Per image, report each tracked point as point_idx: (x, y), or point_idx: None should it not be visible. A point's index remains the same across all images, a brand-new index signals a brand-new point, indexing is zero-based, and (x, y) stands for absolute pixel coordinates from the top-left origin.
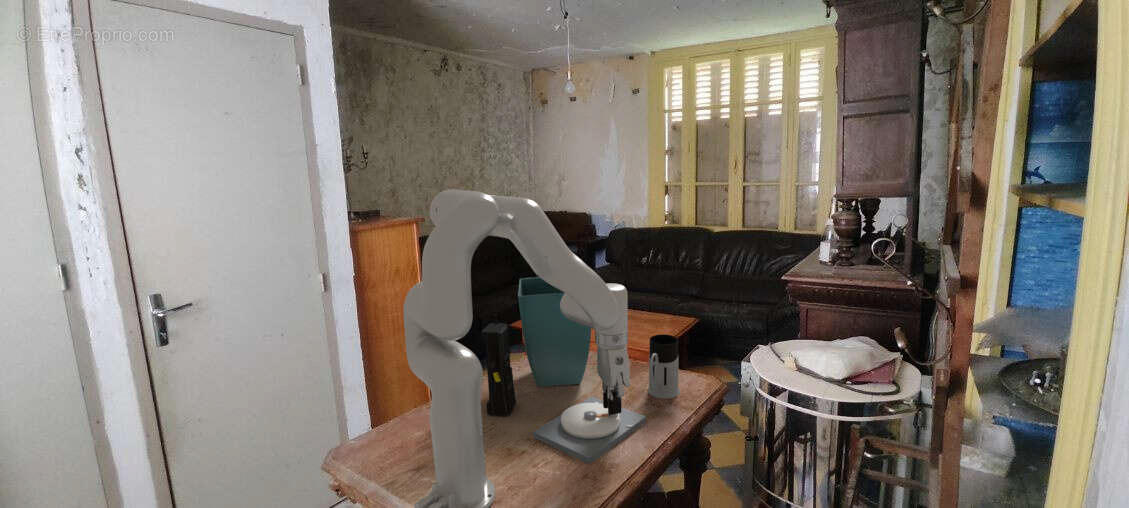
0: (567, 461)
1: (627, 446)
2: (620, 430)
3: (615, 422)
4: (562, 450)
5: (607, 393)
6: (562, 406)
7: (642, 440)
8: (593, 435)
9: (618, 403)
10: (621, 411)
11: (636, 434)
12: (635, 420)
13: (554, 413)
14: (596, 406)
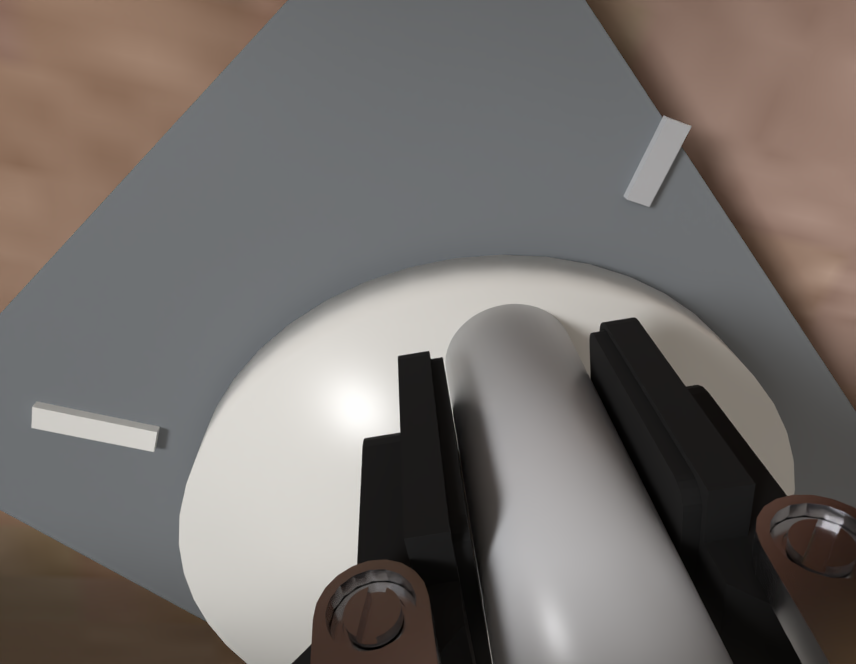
0: None
1: (850, 218)
2: (691, 274)
3: (689, 363)
4: None
5: (486, 648)
6: (60, 608)
7: (833, 29)
8: None
9: (761, 476)
10: (635, 318)
11: (692, 68)
12: (538, 38)
13: (182, 650)
14: (275, 494)
